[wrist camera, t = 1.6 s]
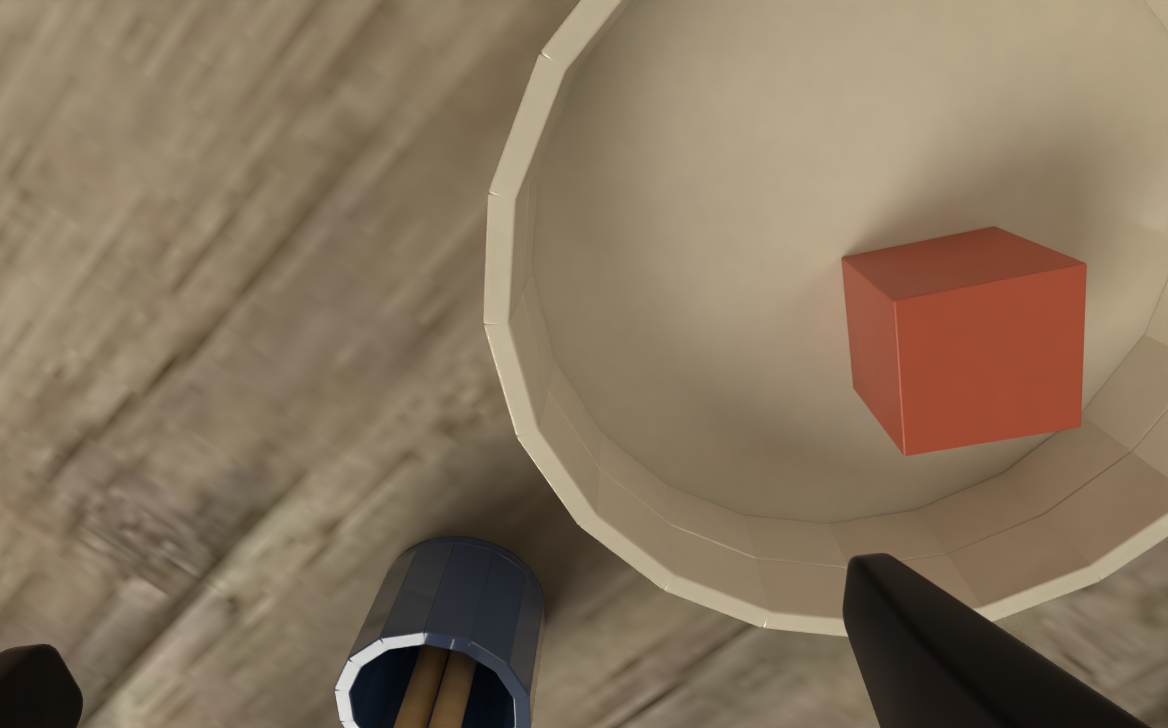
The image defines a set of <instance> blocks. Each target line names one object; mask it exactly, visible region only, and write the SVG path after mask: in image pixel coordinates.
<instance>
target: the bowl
mask: <svg viewBox="0 0 1168 728" xmlns="http://www.w3.org/2000/svg"><path fill="white" fill-rule="evenodd" d="M541 53H542V54H539V55H538V58H537V60H536V63H535V66H534V68H533V71H532V74H531V77H530V79H529V82H528V85H527V87H526V90H525V93H524V96H523V98H522V101H521V104H520V106H519V109H518V112H517V115H516V117H515V120H514V123H513V125H512V128H511V131H510V134H509V136H508V139H507V142H506V144H505V147H504V150H503V153H502V155H501V158H500V161H499V163H498V166H497V169H496V172H495V174H494V177H493V180H492V182H491V185H490V188H489V192H490V193H489V194H488V202H487V228H486V255H485V281H484V307H483V322H484V329H485V332H486V335H487V339H488V342H489V346H490V349H491V352H492V356H493V359H494V363H495V366H496V369H497V373H498V376H499V380H500V383H501V386H502V390H503V393H504V397H505V400H506V403H507V407H508V410H509V414H510V417H511V420H512V424H513V427H514V431H515V434H516V435H517V438H518V440H519V441H520V443H521V444H522V446H523V447H524V448H525V450H526V451H527V453H528V454H529V456H530V457H531V458H532V460H533V461H534V463H535V464H536V466H537V467H538V468H539V470H540V471H541V473H542V474H543V476H544V477H545V478H546V480H547V481H548V483H549V484H550V486H551V487H552V489H553V490H554V491H555V493H556V494H557V496H558V497H559V499H560V500H561V501H562V503H563V504H564V506H565V507H566V509H567V510H568V511H569V513H570V514H571V516H572V517H573V519H574V520H575V521H576V523H577V524H578V525H580V527H581V528H582V529H584V530H585V531H586V532H588V533H589V534H590V535H592V536H593V537H594V538H595V539H597V540H598V541H599V542H601V543H602V544H603V545H605V546H606V547H607V548H609V549H610V550H611V551H613V552H614V553H615V554H617V555H618V556H619V557H620V558H622V559H623V560H624V561H626V562H627V563H628V564H630V565H631V566H632V567H634V568H635V569H636V570H638V571H639V572H640V573H641V574H643V575H644V576H645V577H647V578H648V579H649V580H651V581H652V582H653V583H655V584H656V585H657V586H659V587H660V588H661V589H664V591H667V592H669V593H672V594H674V595H677V596H680V597H682V598H685V599H688V600H690V601H693V602H695V603H698V604H701V605H703V606H706V607H708V608H711V609H714V610H716V611H719V612H722V613H724V614H727V615H729V616H732V617H735V618H737V619H740V620H742V621H745V622H748V623H750V624H753V625H756V626H758V627H764V628H769V629H778V630H787V631H797V632H806V633H816V634H825V635H835V636H844V637H848V635H847V632H846V629H845V625H844V621H843V612H842V607H843V598H844V590H845V582H846V574H847V566H848V563H849V561H850V559H851V558H852V557H854V556H856V555H864V554H873V553H887V554H889V555H891V556H893V557H895V558H896V559H898V560H899V561H901V562H902V563H904V564H905V565H907V566H908V567H910V568H911V569H913V570H914V571H916V572H917V573H919V574H920V575H922V576H923V577H925V578H926V579H928V580H929V581H931V582H932V583H934V584H935V585H937V586H938V587H940V588H941V589H943V590H945V591H946V592H948V593H949V594H951V595H952V596H954V597H955V598H957V599H958V600H960V601H961V602H963V603H964V604H966V605H967V606H969V607H970V608H972V609H973V610H975V611H976V612H978V613H979V614H981V615H982V616H984V617H985V618H987V619H988V620H990V621H991V622H994V621H996V620H999V619H1002V618H1004V617H1007V616H1010V615H1012V614H1015V613H1018V612H1020V611H1023V610H1026V609H1028V608H1031V607H1034V606H1036V605H1039V604H1041V603H1044V602H1047V601H1049V600H1052V599H1055V598H1057V597H1060V596H1063V595H1065V594H1068V593H1071V592H1073V591H1076V590H1079V589H1081V588H1084V587H1087V586H1089V585H1092V584H1095V583H1097V582H1100V581H1101V579H1105V578H1107V577H1108V576H1110V575H1111V574H1113V573H1114V572H1116V571H1117V570H1119V569H1120V568H1122V567H1123V566H1125V565H1126V564H1128V563H1129V562H1131V561H1132V560H1134V559H1135V558H1137V557H1138V556H1140V555H1141V554H1143V553H1144V552H1146V551H1147V550H1149V549H1150V548H1152V547H1153V546H1155V545H1156V544H1158V543H1159V542H1161V541H1163V540H1164V539H1166V538H1167V537H1168V0H580V1H579V2H578V3H577V5H576V6H575V7H574V9H573V10H572V11H571V12H570V14H569V15H568V16H567V18H566V19H565V20H564V21H563V23H562V24H561V25H560V27H559V28H558V29H557V30H556V32H555V33H554V34H553V36H552V37H551V38H550V39H549V41H548V42H547V43H546V45H545V46H544V47H543V49H542V51H541ZM993 226H995V227H998V228H1000V229H1003V230H1005V231H1008V232H1010V233H1013V234H1015V235H1018V236H1020V237H1023V238H1025V239H1028V240H1030V241H1033V242H1035V243H1038V244H1040V245H1043V246H1045V247H1047V248H1050V249H1052V250H1055V251H1057V252H1060V253H1062V254H1065V255H1067V256H1070V257H1072V258H1075V259H1077V260H1080V261H1082V262H1085V263H1086V264H1087V277H1086V304H1085V331H1084V358H1083V385H1082V412H1081V427H1079V428H1074V429H1068V430H1062V431H1056V432H1050V433H1044V434H1038V435H1032V436H1025V437H1019V438H1013V439H1007V440H1001V441H995V442H989V443H983V444H977V445H971V446H965V447H959V448H953V449H947V450H941V451H935V452H929V453H923V454H917V455H911V456H904V455H903V454H902V453H901V451H900V450H899V449H898V447H897V446H896V445H895V443H894V442H893V441H892V439H891V438H890V437H889V435H888V434H887V433H886V431H885V430H884V428H883V427H882V426H881V424H880V423H879V422H878V420H877V419H876V418H875V416H874V415H873V414H872V412H871V411H870V410H869V408H868V407H867V406H866V404H865V403H864V402H863V400H862V399H861V398H860V396H859V395H858V394H857V392H856V391H855V390H854V388H853V379H852V368H851V358H850V347H849V336H848V326H847V315H846V304H845V294H844V283H843V272H842V262H841V259H842V257H845V256H850V255H855V254H860V253H865V252H869V251H874V250H879V249H884V248H889V247H894V246H899V245H904V244H909V243H914V242H919V241H924V240H929V239H934V238H939V237H944V236H949V235H953V234H958V233H963V232H968V231H973V230H978V229H983V228H988V227H993Z"/></svg>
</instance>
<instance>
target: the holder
mask: <svg viewBox="0 0 1168 728" xmlns="http://www.w3.org/2000/svg"><path fill="white" fill-rule="evenodd" d="M544 617H545V601H544V597H543V593H542V590H541V588H540V585H539V583H538V581H537V580H536V578H535V576H534V575H533V573H532V572H531V571H530V570H529V568H528V567H527V566H526V565H525V564H524V563H523V562H522V561H521V560H519V559H518V558H517V557H516V556H514V555H513V554H511V553H510V552H508V551H506V550H505V549H503V548H501V547H499V546H497V545H494V544H492V543H489V542H486V541H483V540H478V539H474V538H466V537H445V538H438V539H433V540H429V541H426V542H423V543H421V544H418V545H416V546H415V547H413V548H411V549H409V550H408V551H406V552H405V553H404V554H402V555H401V556H400V557H399V558H398V559H397V560H396V561H395V562H394V564H393V565H392V566H391V568H390V569H389V571H388V573H387V575H386V577H385V579H384V581H383V583H382V586H381V588H380V590H379V592H378V594H377V596H376V598H375V601H374V603H373V605H372V607H371V609H370V611H369V613H368V615H367V618H366V620H365V622H364V624H363V626H362V628H361V630H360V633H359V635H358V637H357V639H356V641H355V643H354V645H353V648H352V650H351V652H350V654H349V656H348V658H347V660H346V663H345V665H344V667H343V669H342V671H341V673H340V675H339V678H338V680H337V682H336V684H335V686H334V687H335V688H334V692H335V698H336V703H337V709H338V715H339V720H340V722H341V724H342V725H343V726H344V728H394V725H395V722H396V719H397V716H398V713H399V711H400V708H401V705H402V702H403V699H404V696H405V693H406V690H407V688H408V685H409V682H410V679H411V676H412V673H413V670H414V667H415V664H416V662H417V659H418V656H419V653H420V650H421V647H422V645H425V644H426V645H431V646H435V647H440V648H445V649H450V650H449V653H448V656H447V660H446V663H445V666H444V670H443V673H442V677H441V680H440V683H439V687H438V690H437V693H436V697H435V700H434V704H433V707H432V710H431V714H430V717H429V720H428V724H427V727H426V728H428V727H429V724H430V721H431V717H432V714H433V710H434V707H435V704H436V700H437V697H438V693H439V690H440V687H441V683H442V680H443V676H444V673H445V670H446V666H447V663H448V659H449V656H450V653H451V650H454V651H459V652H464V653H466V654H467V655H469V656H470V657H472V658H474V659H475V660H477V665H476V669H475V673H474V677H473V681H472V685H471V689H470V693H469V697H468V701H467V706H466V710H465V714H464V718H463V722H462V726H461V728H531V724H532V717H533V710H534V702H535V695H536V688H537V680H538V673H539V666H540V658H541V651H542V644H543V637H544Z"/></svg>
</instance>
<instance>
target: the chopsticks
mask: <svg viewBox="0 0 1168 728" xmlns="http://www.w3.org/2000/svg"><path fill="white" fill-rule="evenodd" d="M449 650H450V649H445V648H440V647H435V646H431V645H426V644H425V645H422V647H421V650H420V653H419V656H418V659H417V662H416V664H415V667H414V670H413V673H412V676H411V679H410V682H409V685H408V688H407V690H406V693H405V696H404V699H403V702H402V705H401V708H400V711H399V713H398V716H397V719H396V722H395V725H394V728H426V727H427V724H428V720H429V717H430V714H431V710H432V707H433V704H434V700H435V697H436V693H437V690H438V687H439V683H440V680H441V677H442V673H443V670H444V666H445V663H446V660H447V656H448V653H449ZM476 665H477V660H475V659H474V658H472V657H470V656H469V655H467V654H466V653H464V652H459V651H454V650H451V653H450V656H449V659H448V663H447V666H446V670H445V673H444V676H443V680H442V683H441V687H440V690H439V693H438V697H437V700H436V704H435V707H434V710H433V714H432V717H431V721H430V724H429V727H428V728H461V726H462V722H463V718H464V714H465V710H466V706H467V701H468V697H469V693H470V689H471V685H472V681H473V677H474V673H475V669H476Z"/></svg>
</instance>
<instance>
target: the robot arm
mask: <svg viewBox="0 0 1168 728" xmlns="http://www.w3.org/2000/svg"><path fill="white" fill-rule="evenodd" d="M842 612H843V621H844V625H845V629H846V632H847V635H848V637H849V640H850V643H851V646H852V649H853V652H854V654H855V657H856V660H857V663H858V666H859V668H860V671H861V674H862V677H863V680H864V683H865V685H866V688H867V691H868V694H869V697H870V699H871V702H872V705H873V708H874V711H875V714H876V716H877V719H878V722H879V725H880V728H1151V727H1149V726H1148V725H1146V724H1145V723H1143V722H1142V721H1140V720H1139V719H1137V718H1136V717H1134V716H1133V715H1131V714H1130V713H1128V712H1127V711H1125V710H1124V709H1122V708H1121V707H1119V706H1118V705H1116V704H1115V703H1113V702H1111V701H1110V700H1108V699H1107V698H1105V697H1104V696H1102V695H1101V694H1099V693H1098V692H1096V691H1095V690H1093V689H1092V688H1090V687H1089V686H1087V685H1086V684H1084V683H1083V682H1081V681H1080V680H1078V679H1077V678H1075V677H1074V676H1072V675H1071V674H1069V673H1068V672H1066V671H1065V670H1063V669H1062V668H1060V667H1059V666H1057V665H1056V664H1054V663H1053V662H1051V661H1050V660H1048V659H1047V658H1045V657H1044V656H1042V655H1041V654H1039V653H1038V652H1036V651H1035V650H1033V649H1032V648H1030V647H1029V646H1027V645H1026V644H1024V643H1023V642H1021V641H1020V640H1018V639H1017V638H1015V637H1014V636H1012V635H1011V634H1009V633H1008V632H1006V631H1005V630H1003V629H1002V628H1000V627H999V626H997V625H996V624H994V623H993V622H991V621H990V620H988V619H987V618H985V617H984V616H982V615H981V614H979V613H978V612H976V611H975V610H973V609H972V608H970V607H969V606H967V605H966V604H964V603H963V602H961V601H960V600H958V599H957V598H955V597H954V596H952V595H951V594H949V593H948V592H946V591H945V590H943V589H941V588H940V587H938V586H937V585H935V584H934V583H932V582H931V581H929V580H928V579H926V578H925V577H923V576H922V575H920V574H919V573H917V572H916V571H914V570H913V569H911V568H910V567H908V566H907V565H905V564H904V563H902V562H901V561H899V560H898V559H896V558H895V557H893V556H891V555H889V554H887V553H873V554H864V555H856V556H854V557H852V558H851V559H850V561H849V563H848V566H847V574H846V582H845V590H844V598H843V607H842ZM82 707H83V697H82V693H81V690H80V688H79V686H78V685H77V683H76V681H75V680H74V678H73V676H72V674H71V673H70V671H69V669H68V668H67V666H66V664H65V662H64V661H63V659H62V657H61V656H60V654H59V652H58V651H57V650H56V649H55V648H54V647H52V646H51V645H47V644H38V645H29V646H20V647H13V648H10V649H7V650H4V651H3V652H1V653H0V728H77V725H78V722H79V720H80V717H81V713H82Z"/></svg>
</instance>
